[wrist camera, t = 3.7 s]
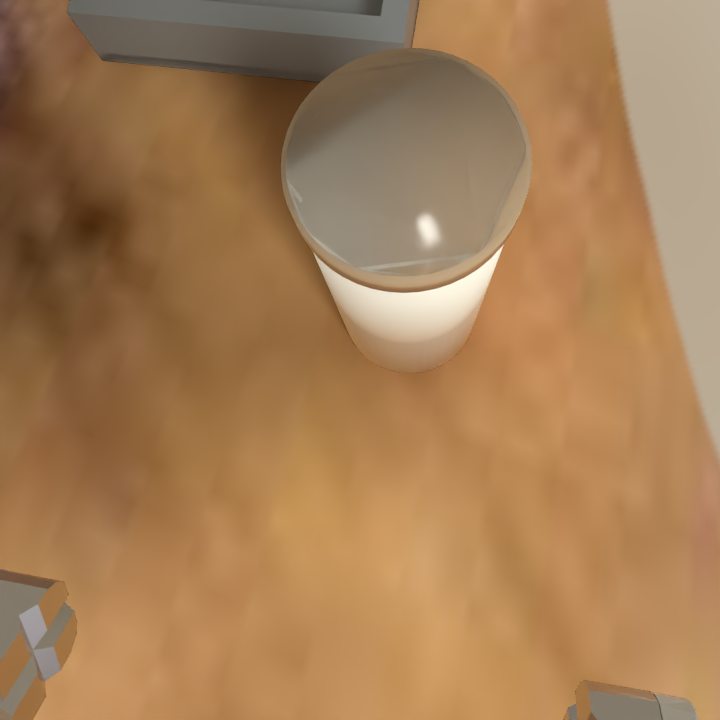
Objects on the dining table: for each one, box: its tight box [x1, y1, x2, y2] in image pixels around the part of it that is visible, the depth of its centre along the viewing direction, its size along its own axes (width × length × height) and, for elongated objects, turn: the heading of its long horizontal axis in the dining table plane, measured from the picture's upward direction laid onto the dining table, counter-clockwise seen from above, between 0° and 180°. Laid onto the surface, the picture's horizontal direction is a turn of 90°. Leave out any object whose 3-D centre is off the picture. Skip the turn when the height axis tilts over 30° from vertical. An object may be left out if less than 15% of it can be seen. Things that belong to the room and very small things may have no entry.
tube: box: [281, 48, 532, 373], centre depth 20 cm, size 5×5×12 cm
